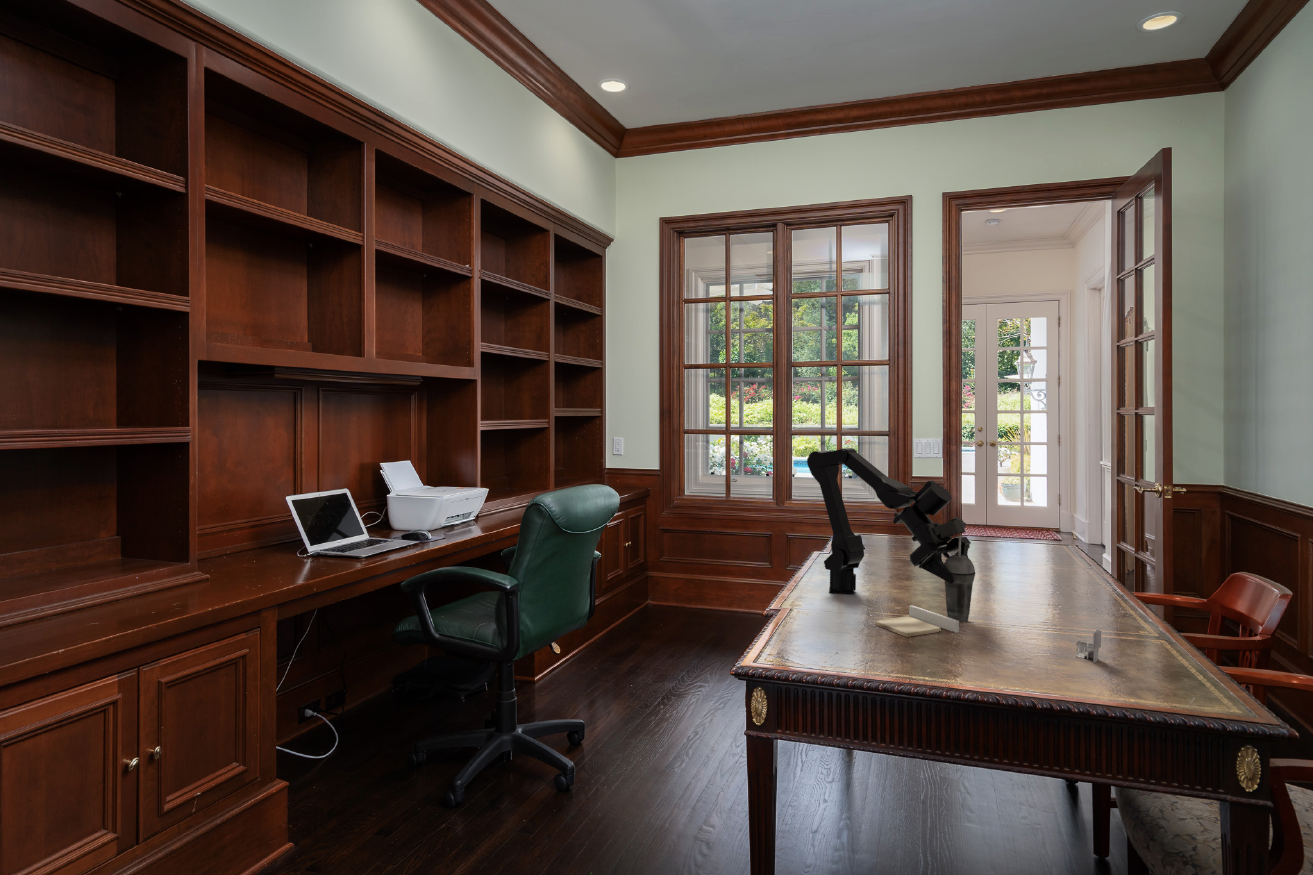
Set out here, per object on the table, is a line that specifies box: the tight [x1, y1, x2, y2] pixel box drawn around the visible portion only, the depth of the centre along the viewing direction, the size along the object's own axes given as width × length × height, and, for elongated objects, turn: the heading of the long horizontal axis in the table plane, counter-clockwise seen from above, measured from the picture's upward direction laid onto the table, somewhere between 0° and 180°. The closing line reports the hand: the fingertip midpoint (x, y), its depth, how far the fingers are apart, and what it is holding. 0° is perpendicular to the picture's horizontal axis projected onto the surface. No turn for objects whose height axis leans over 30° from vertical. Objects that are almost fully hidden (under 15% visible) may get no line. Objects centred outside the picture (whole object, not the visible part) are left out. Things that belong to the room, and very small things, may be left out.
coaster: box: [874, 615, 942, 638], centre depth 163 cm, size 10×10×1 cm
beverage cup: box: [943, 534, 976, 624], centre depth 169 cm, size 7×7×20 cm
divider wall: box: [908, 605, 960, 634], centre depth 166 cm, size 14×1×2 cm, turn 25°
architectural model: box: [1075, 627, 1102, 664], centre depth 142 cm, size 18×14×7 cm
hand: (963, 579), depth 168 cm, fingers open, 9 cm apart
